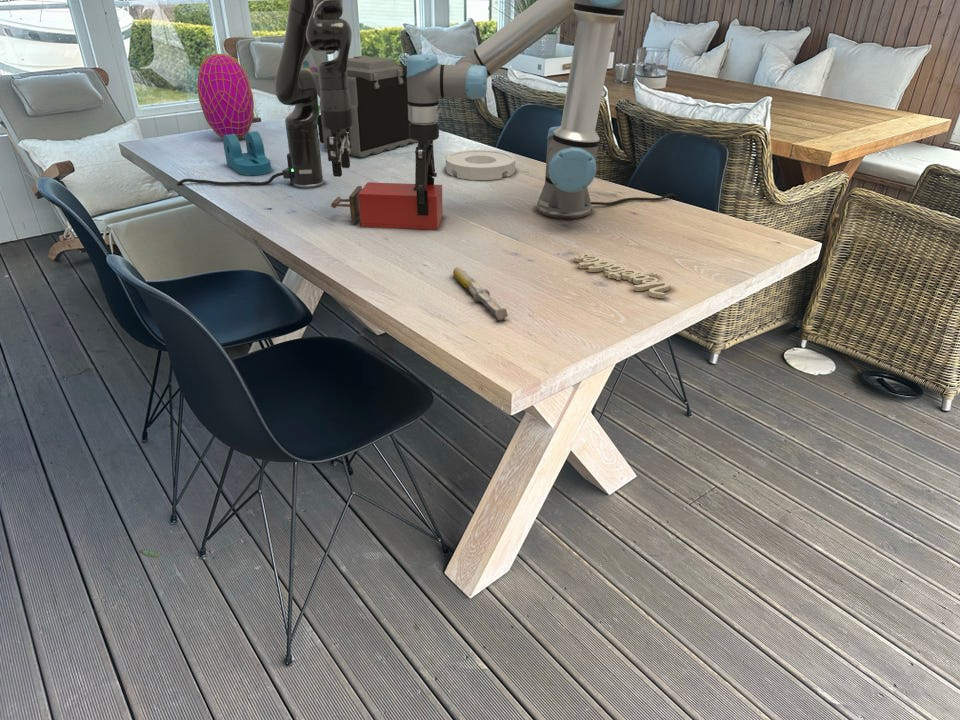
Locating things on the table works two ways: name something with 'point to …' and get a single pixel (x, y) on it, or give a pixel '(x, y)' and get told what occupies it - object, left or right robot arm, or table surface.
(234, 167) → the camera mount
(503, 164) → the ashtray
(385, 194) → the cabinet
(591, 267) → the decorative sign
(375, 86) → the cooler box
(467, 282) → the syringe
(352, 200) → the drawer
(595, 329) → the table surface
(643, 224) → the table surface
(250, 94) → the decorative egg
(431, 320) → the table surface
